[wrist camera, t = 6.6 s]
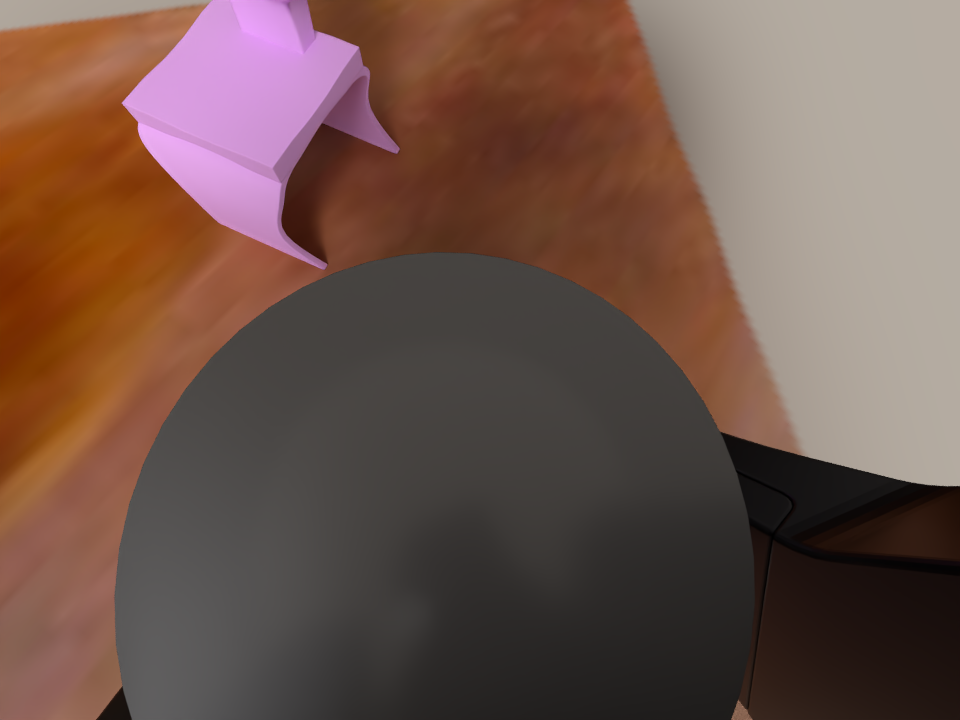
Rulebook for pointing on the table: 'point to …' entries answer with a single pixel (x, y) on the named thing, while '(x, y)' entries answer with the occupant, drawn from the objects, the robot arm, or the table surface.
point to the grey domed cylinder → (437, 514)
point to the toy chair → (251, 109)
